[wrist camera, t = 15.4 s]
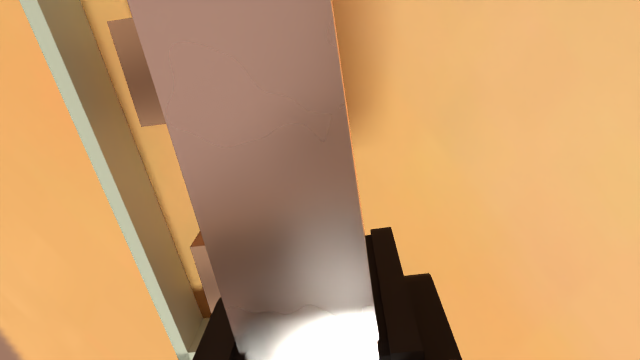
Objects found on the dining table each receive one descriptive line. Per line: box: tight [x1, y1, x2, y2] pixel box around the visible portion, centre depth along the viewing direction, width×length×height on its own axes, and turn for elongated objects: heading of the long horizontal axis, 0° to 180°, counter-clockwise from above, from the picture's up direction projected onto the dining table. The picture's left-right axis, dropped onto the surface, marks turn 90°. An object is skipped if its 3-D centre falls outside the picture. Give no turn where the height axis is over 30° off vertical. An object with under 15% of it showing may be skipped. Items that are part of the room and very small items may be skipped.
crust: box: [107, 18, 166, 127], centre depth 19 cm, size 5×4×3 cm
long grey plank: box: [127, 0, 379, 360], centre depth 9 cm, size 20×2×5 cm, turn 10°
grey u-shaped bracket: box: [19, 0, 210, 360], centre depth 22 cm, size 25×11×4 cm, turn 10°
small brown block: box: [190, 231, 221, 313], centre depth 24 cm, size 5×4×3 cm
